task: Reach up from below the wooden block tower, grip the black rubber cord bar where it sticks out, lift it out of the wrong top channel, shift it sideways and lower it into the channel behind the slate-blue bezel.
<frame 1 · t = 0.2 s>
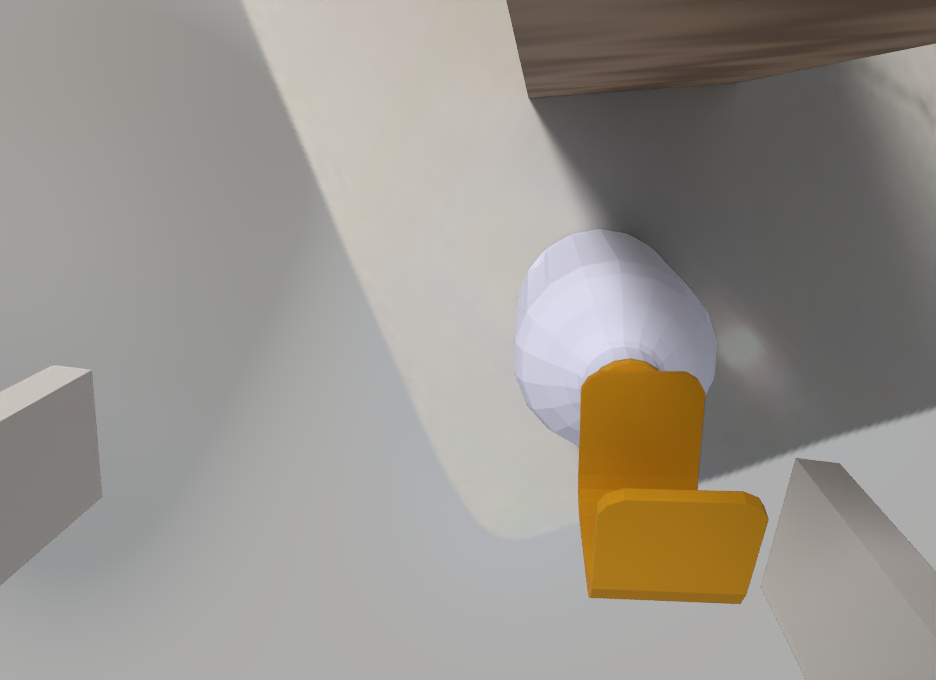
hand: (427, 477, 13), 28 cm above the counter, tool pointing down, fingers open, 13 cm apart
soap bottle: (595, 304, 40), on the counter
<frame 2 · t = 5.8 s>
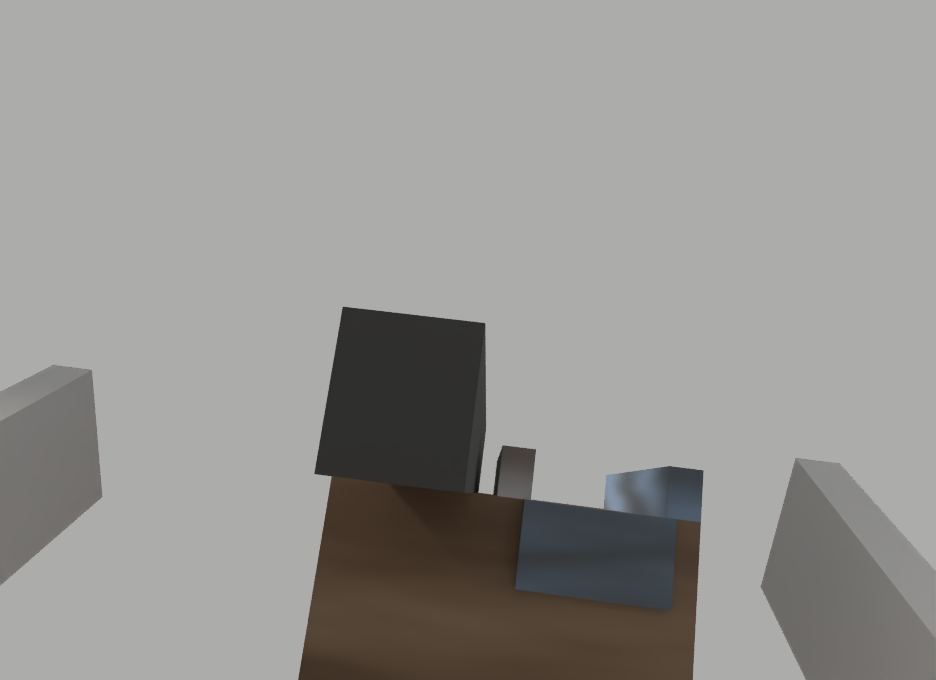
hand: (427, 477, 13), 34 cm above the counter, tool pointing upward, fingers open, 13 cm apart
cord bar: (434, 487, 22), point 34 cm above the counter, touching wooden block tower
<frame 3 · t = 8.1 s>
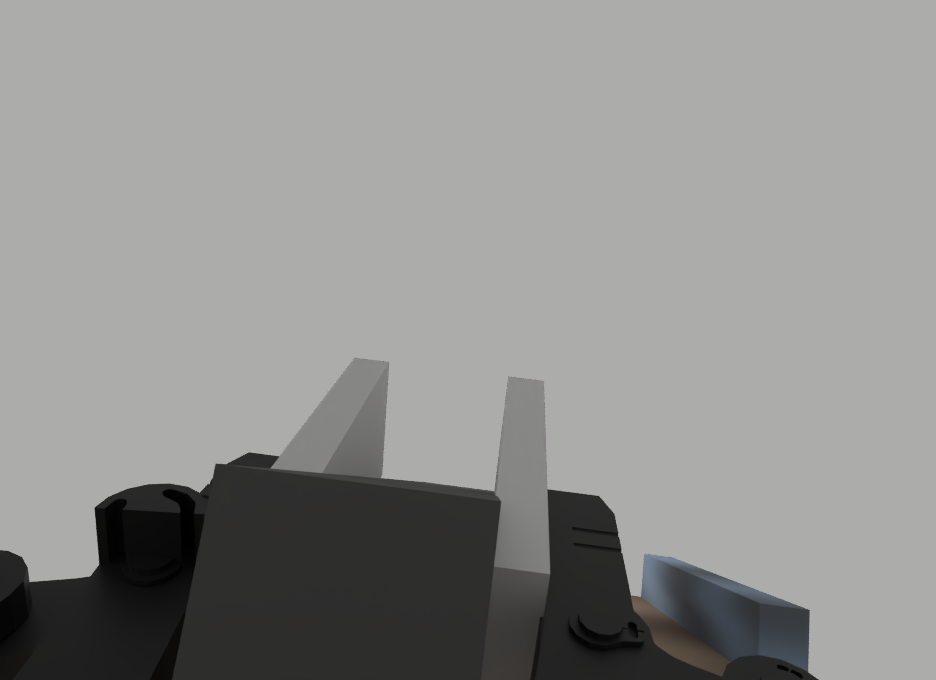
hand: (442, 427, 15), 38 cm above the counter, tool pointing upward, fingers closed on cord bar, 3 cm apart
cord bar: (423, 618, 16), point 34 cm above the counter, touching gripper
when the fingers open (39 cm above the counter, at t = 11.4 s): cord bar stays where it is, resting on wooden block tower.
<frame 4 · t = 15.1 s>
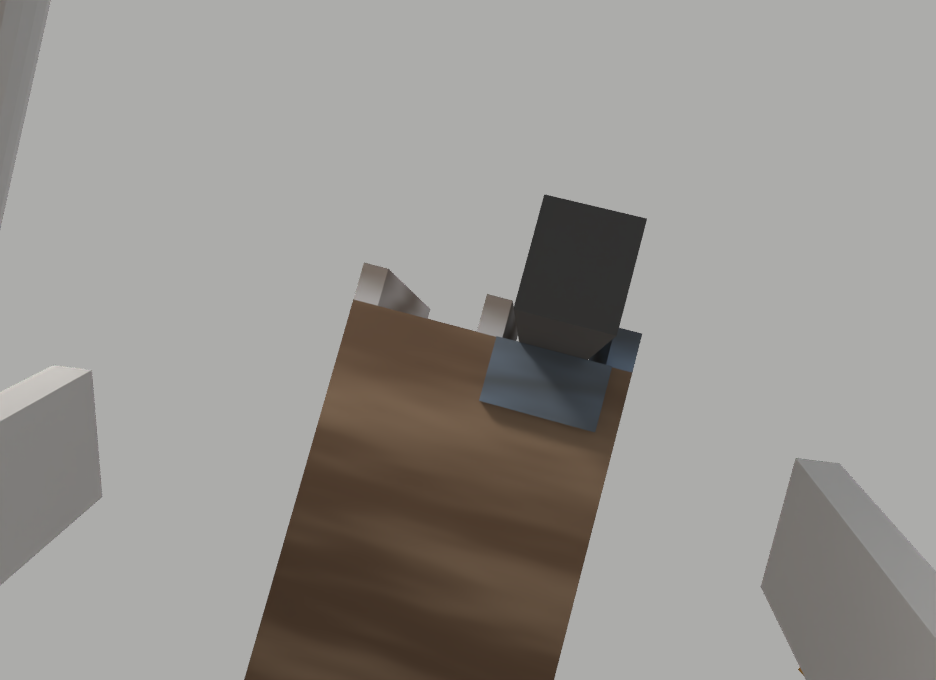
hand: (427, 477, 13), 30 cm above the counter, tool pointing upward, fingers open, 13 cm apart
cord bar: (551, 354, 27), point 34 cm above the counter, touching wooden block tower
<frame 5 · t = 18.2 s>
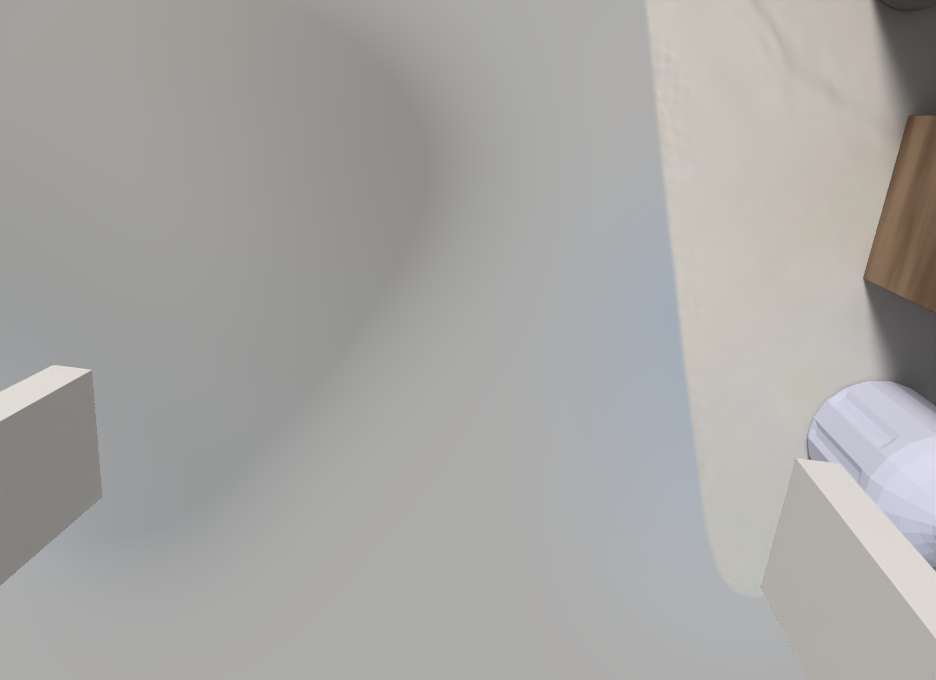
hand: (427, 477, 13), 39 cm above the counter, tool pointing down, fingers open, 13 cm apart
soap bottle: (866, 432, 52), on the counter
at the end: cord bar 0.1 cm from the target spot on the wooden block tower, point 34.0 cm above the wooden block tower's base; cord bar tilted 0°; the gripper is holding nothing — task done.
